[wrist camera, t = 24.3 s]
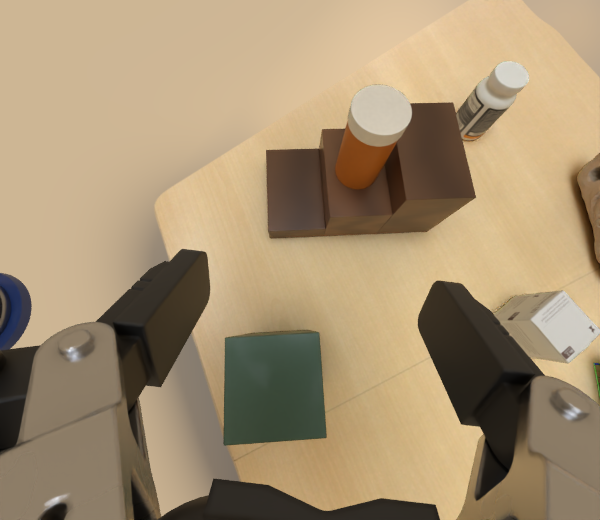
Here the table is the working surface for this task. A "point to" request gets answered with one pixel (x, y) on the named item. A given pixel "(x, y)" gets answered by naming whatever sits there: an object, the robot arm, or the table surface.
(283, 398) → the stand
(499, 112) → the pill bottle
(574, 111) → the table surface
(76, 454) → the robot arm
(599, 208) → the decorative stone
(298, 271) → the table surface
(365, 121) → the amber bottle
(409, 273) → the table surface
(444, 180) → the riser
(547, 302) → the product carton
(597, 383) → the house
